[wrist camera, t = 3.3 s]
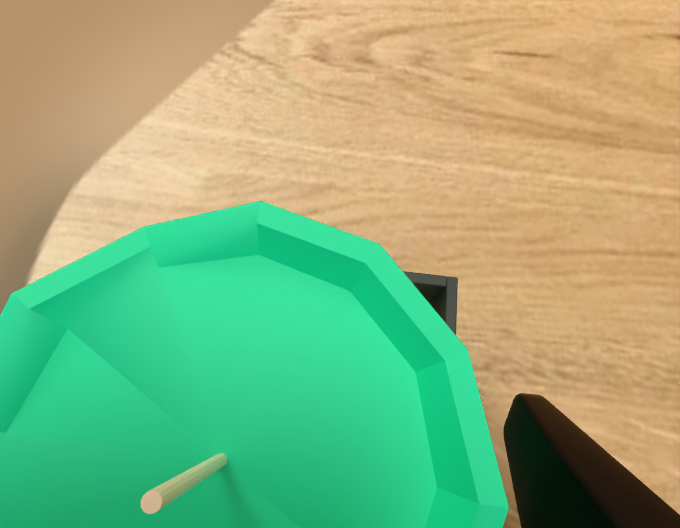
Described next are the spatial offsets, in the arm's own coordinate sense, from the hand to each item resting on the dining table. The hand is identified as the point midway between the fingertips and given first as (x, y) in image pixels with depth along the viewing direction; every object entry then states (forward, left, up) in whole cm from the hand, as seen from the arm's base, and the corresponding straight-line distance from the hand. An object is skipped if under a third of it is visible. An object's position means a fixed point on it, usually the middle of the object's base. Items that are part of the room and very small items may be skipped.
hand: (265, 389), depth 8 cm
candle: (-1, 0, -7) cm, 7 cm away
